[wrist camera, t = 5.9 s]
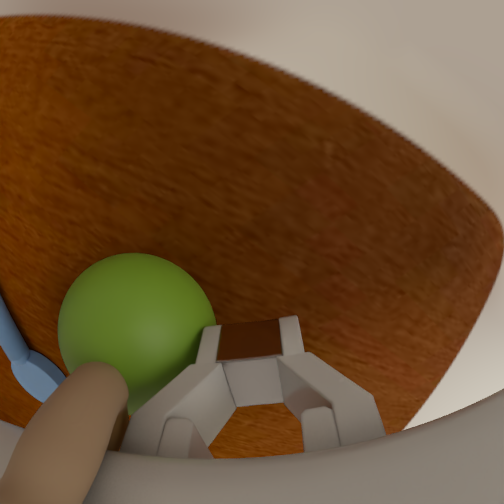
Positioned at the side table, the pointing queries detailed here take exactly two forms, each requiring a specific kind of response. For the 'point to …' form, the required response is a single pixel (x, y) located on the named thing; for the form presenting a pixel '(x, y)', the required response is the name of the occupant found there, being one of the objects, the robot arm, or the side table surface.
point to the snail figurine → (106, 371)
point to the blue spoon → (27, 360)
